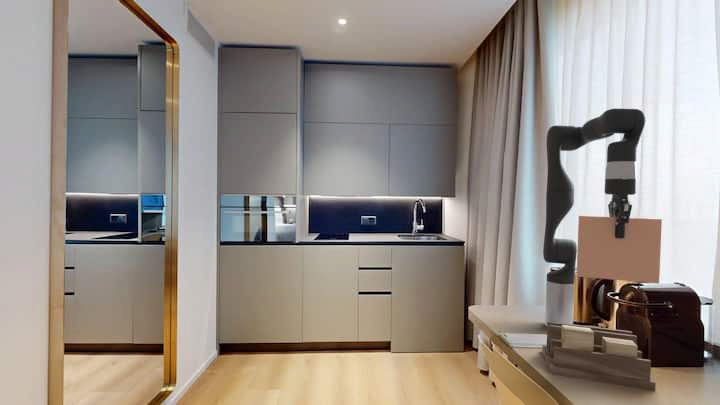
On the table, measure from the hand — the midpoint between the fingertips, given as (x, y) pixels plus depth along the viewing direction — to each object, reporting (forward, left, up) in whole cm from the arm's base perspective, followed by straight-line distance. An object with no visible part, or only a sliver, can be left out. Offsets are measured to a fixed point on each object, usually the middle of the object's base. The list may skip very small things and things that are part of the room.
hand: (618, 237), depth 110 cm
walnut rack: (+5, -6, -37) cm, 38 cm away
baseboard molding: (-11, -14, -38) cm, 42 cm away
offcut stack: (+10, -6, -35) cm, 37 cm away
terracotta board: (0, 0, -12) cm, 12 cm away
